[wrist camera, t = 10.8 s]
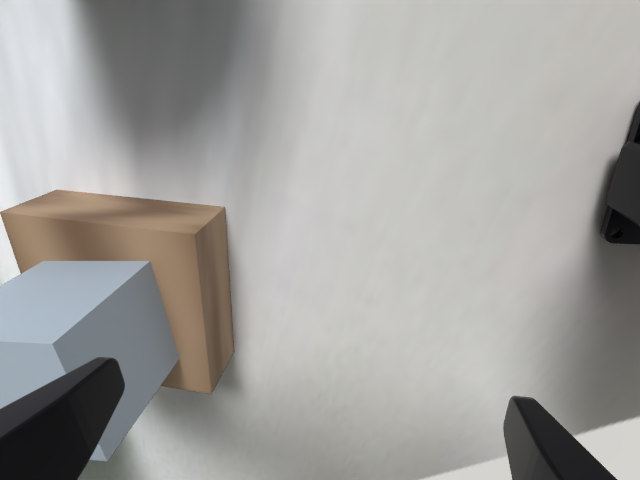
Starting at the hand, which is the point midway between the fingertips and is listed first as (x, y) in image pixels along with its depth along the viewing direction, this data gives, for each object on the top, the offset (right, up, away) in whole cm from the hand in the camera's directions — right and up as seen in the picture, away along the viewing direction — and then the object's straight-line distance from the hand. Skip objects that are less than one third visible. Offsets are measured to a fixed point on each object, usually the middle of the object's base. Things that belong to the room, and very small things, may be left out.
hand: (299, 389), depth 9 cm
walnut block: (-10, +1, +15) cm, 18 cm away
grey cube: (-10, 0, +11) cm, 16 cm away
